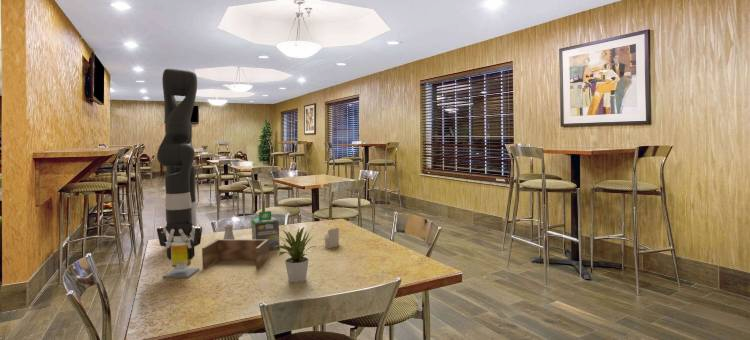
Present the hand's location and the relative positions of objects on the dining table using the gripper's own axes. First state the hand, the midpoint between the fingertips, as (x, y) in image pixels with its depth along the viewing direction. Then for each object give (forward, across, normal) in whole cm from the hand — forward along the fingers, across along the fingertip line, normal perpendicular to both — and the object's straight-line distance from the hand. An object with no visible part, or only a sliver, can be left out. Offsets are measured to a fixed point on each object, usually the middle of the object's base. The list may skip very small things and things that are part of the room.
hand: (181, 258), depth 139 cm
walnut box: (+5, -14, -11) cm, 18 cm away
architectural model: (+5, -44, -35) cm, 56 cm away
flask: (+5, -5, -28) cm, 29 cm away
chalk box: (+5, -18, -32) cm, 37 cm away
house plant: (+5, -38, +4) cm, 39 cm away
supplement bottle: (+3, 0, 0) cm, 3 cm away
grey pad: (+5, 0, 0) cm, 5 cm away
